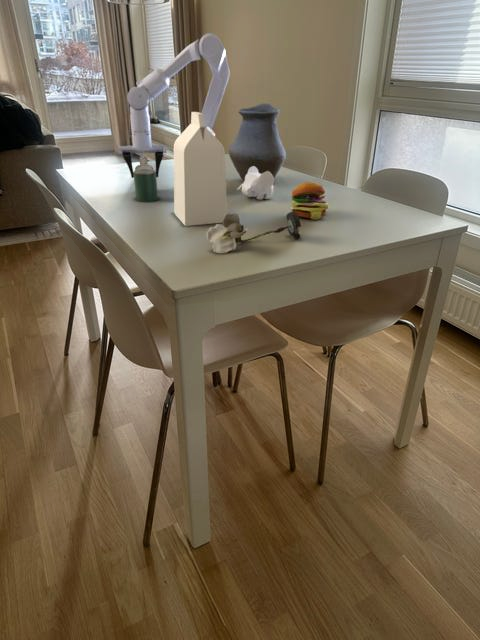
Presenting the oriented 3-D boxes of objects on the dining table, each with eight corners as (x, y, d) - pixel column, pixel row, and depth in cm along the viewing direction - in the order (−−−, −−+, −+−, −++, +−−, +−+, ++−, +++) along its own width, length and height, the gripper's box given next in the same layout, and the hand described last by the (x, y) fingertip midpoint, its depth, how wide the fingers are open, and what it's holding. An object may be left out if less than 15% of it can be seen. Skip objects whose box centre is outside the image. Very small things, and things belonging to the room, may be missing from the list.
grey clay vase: (219, 184, 158) (219, 105, 146) (239, 172, 176) (240, 101, 164) (277, 189, 153) (281, 108, 141) (291, 176, 171) (296, 103, 159)
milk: (174, 213, 126) (168, 111, 114) (213, 210, 130) (212, 110, 117) (185, 226, 116) (180, 115, 104) (227, 222, 120) (227, 114, 107)
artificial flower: (306, 248, 107) (310, 212, 100) (214, 269, 102) (212, 232, 95) (291, 228, 113) (294, 192, 106) (204, 246, 108) (201, 210, 101)
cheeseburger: (299, 221, 121) (298, 182, 118) (285, 219, 131) (283, 183, 128) (333, 218, 123) (333, 180, 121) (317, 217, 133) (316, 181, 131)
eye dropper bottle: (149, 194, 144) (145, 154, 139) (134, 191, 147) (131, 152, 141) (157, 191, 148) (154, 152, 142) (143, 189, 150) (139, 150, 144)
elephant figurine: (232, 196, 144) (233, 167, 139) (265, 192, 149) (266, 164, 144) (247, 203, 136) (248, 173, 132) (281, 199, 142) (282, 170, 137)
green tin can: (161, 198, 140) (160, 170, 136) (149, 202, 135) (147, 174, 131) (144, 195, 143) (142, 168, 139) (131, 200, 138) (128, 171, 134)
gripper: (164, 129, 143) (167, 173, 150) (117, 129, 140) (121, 174, 147) (165, 132, 137) (168, 178, 144) (116, 132, 134) (121, 179, 141)
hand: (144, 176), depth 145 cm, fingers open, 7 cm apart
